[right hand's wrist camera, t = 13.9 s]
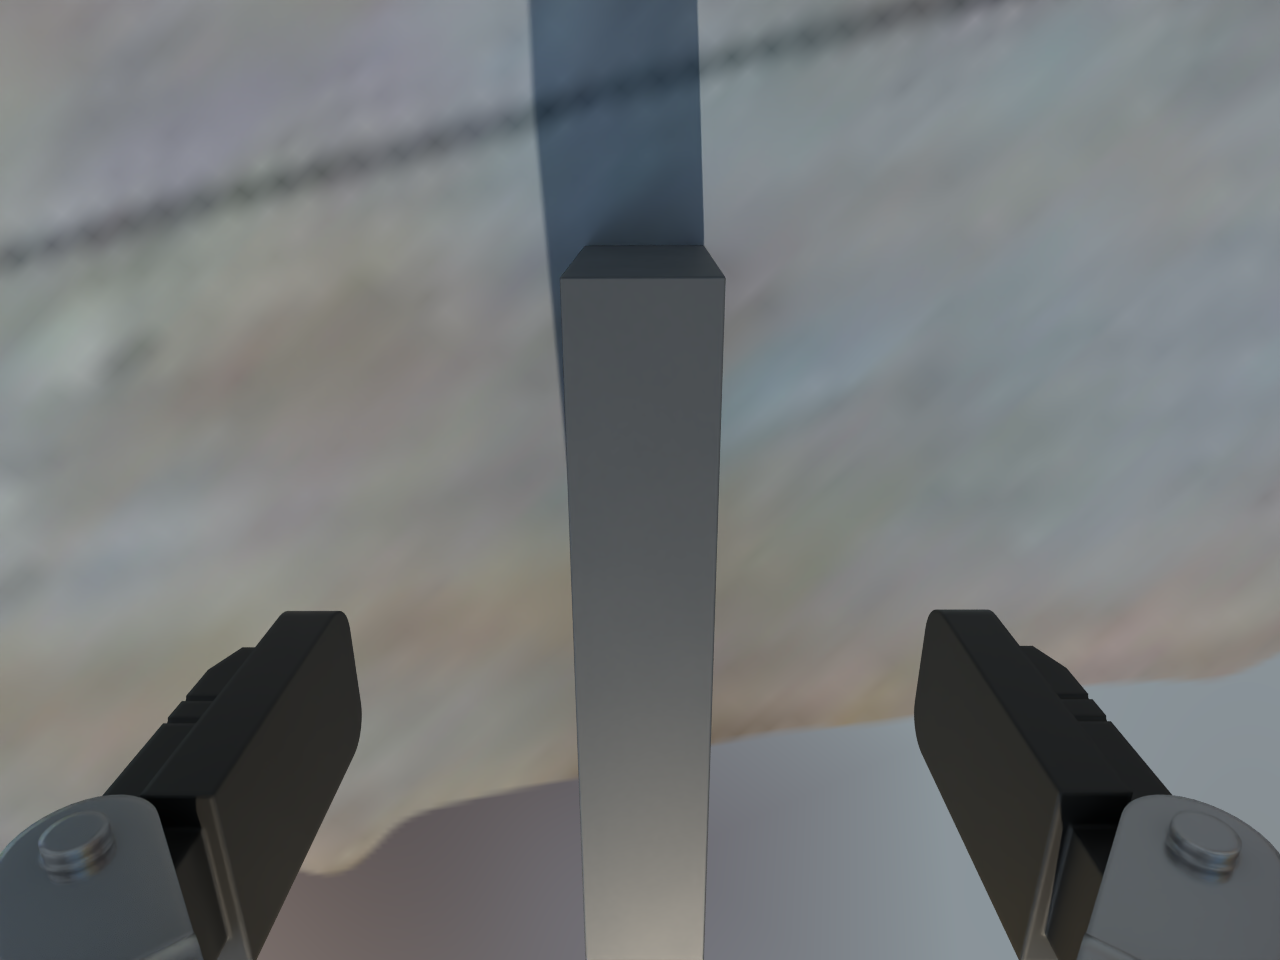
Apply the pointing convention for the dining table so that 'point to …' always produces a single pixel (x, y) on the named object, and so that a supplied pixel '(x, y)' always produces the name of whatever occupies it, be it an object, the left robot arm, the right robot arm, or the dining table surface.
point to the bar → (643, 584)
